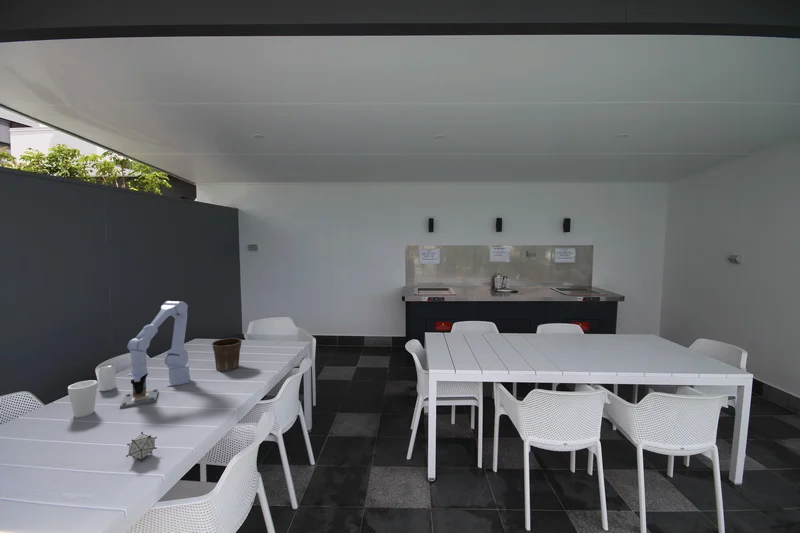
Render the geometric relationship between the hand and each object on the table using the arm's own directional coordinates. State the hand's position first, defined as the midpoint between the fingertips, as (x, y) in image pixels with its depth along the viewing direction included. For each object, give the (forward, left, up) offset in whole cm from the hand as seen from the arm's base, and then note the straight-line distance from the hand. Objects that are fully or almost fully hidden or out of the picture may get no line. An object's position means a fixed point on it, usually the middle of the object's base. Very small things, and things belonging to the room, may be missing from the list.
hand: (140, 391), depth 160 cm
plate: (0, 0, -4) cm, 4 cm away
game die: (-7, +56, -4) cm, 56 cm away
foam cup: (+19, +5, -4) cm, 20 cm away
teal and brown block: (0, 0, -2) cm, 2 cm away
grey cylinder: (+16, -23, -4) cm, 29 cm away
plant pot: (-39, -26, -4) cm, 47 cm away
